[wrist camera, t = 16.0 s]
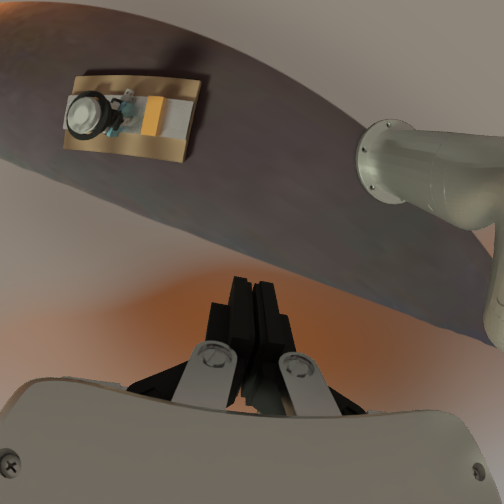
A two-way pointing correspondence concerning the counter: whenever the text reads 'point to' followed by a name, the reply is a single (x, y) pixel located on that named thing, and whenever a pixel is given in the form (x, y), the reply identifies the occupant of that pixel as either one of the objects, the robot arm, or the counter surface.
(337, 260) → the counter surface
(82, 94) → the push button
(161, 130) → the din rail
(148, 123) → the end stops
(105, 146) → the din panel
